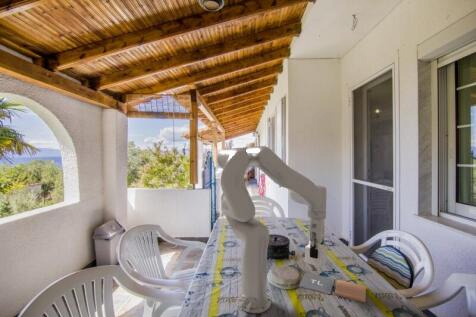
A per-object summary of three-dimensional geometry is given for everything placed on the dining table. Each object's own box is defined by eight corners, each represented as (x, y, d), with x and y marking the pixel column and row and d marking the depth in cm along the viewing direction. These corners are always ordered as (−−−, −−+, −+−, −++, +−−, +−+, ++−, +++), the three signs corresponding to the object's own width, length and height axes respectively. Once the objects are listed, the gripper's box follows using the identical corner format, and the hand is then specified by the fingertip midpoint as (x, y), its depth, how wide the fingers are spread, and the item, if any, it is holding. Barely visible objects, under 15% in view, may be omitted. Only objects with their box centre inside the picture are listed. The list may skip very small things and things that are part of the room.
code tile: (330, 294, 98) (330, 294, 98) (298, 286, 104) (298, 285, 104) (334, 280, 109) (334, 279, 109) (305, 273, 115) (305, 272, 115)
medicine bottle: (310, 257, 111) (311, 231, 111) (326, 262, 106) (327, 235, 106) (304, 262, 105) (305, 235, 105) (320, 267, 101) (321, 239, 101)
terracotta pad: (365, 302, 92) (365, 300, 92) (334, 294, 98) (334, 292, 98) (366, 288, 102) (366, 286, 102) (338, 281, 107) (338, 279, 107)
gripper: (322, 219, 96) (321, 263, 96) (329, 211, 111) (328, 249, 112) (303, 217, 100) (302, 259, 100) (312, 209, 115) (311, 246, 115)
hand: (315, 254), depth 106 cm, fingers closed on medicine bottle, 7 cm apart
